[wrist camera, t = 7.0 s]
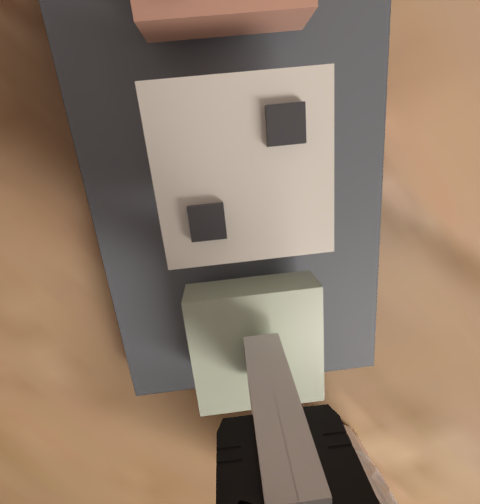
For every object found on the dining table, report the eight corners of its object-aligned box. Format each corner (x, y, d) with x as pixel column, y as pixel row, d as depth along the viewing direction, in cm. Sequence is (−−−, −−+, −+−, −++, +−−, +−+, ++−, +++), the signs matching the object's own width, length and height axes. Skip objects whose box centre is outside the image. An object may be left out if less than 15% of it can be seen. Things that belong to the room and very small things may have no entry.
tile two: (175, 253, 13) (166, 273, 11) (148, 94, 11) (131, 78, 9) (317, 237, 13) (337, 253, 11) (314, 78, 11) (337, 60, 9)
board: (143, 372, 20) (136, 395, 18) (29, -127, 12) (-6, -179, 10) (359, 345, 20) (373, 365, 18) (373, -149, 13) (400, -202, 11)
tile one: (202, 386, 17) (200, 422, 14) (185, 284, 15) (180, 307, 13) (312, 372, 17) (326, 405, 15) (309, 269, 15) (325, 289, 13)
